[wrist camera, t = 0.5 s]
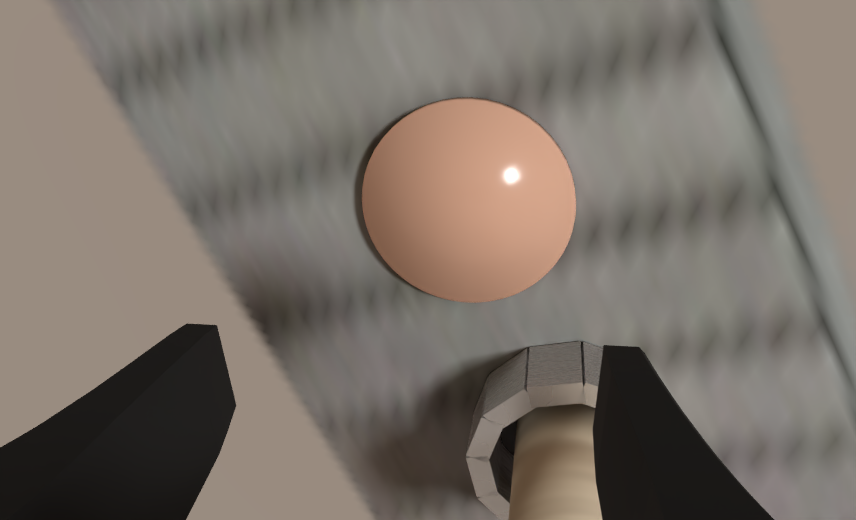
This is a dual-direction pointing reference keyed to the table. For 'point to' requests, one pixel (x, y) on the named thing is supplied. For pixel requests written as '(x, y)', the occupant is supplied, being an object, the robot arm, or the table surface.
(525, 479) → the peg
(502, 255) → the coaster
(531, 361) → the collar
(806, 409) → the table surface
